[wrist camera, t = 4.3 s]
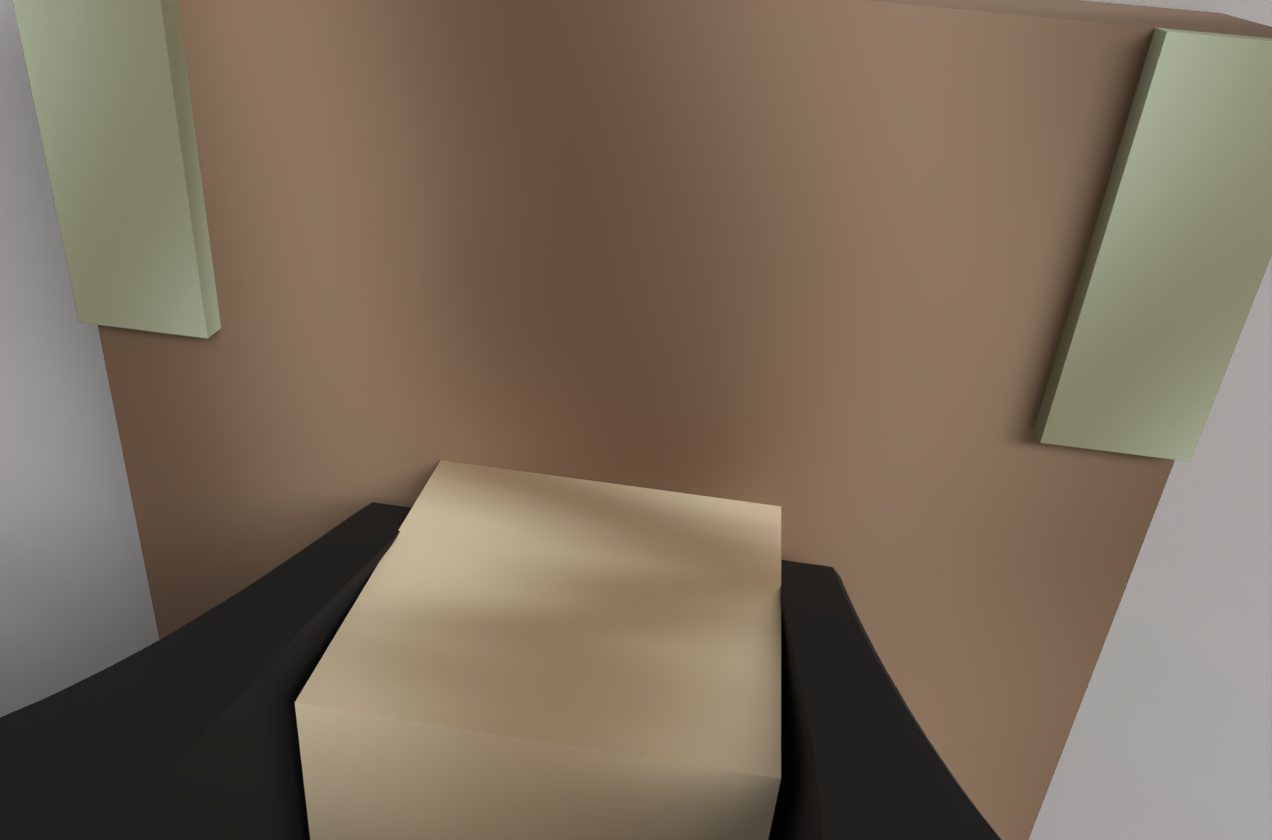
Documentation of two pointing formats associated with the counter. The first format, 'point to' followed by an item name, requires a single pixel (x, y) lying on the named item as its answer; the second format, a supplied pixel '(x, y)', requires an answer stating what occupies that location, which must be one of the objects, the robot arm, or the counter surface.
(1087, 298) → the walnut deck
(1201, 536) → the counter surface
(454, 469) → the ash block
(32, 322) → the counter surface
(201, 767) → the robot arm
